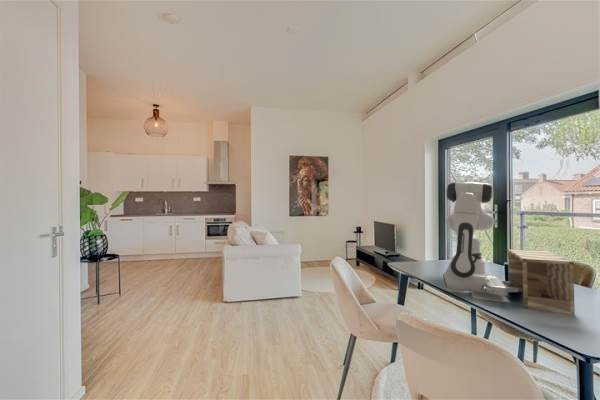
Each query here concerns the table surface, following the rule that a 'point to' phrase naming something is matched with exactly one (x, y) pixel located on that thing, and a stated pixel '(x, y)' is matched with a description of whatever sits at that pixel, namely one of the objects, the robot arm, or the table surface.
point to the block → (533, 287)
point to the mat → (489, 296)
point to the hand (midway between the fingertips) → (515, 286)
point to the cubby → (543, 279)
